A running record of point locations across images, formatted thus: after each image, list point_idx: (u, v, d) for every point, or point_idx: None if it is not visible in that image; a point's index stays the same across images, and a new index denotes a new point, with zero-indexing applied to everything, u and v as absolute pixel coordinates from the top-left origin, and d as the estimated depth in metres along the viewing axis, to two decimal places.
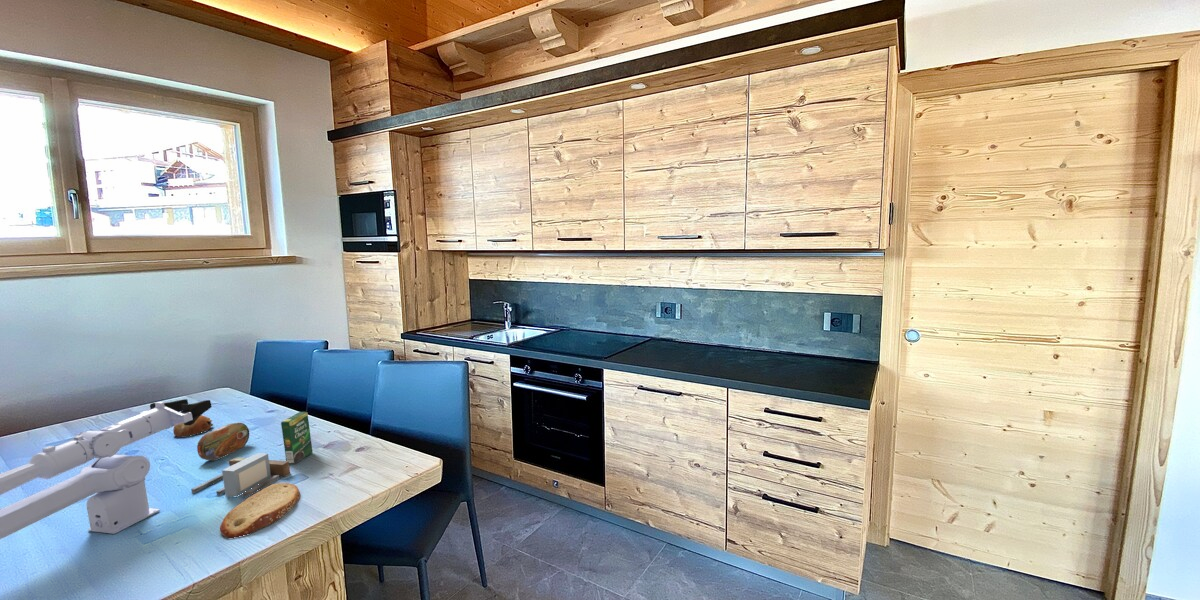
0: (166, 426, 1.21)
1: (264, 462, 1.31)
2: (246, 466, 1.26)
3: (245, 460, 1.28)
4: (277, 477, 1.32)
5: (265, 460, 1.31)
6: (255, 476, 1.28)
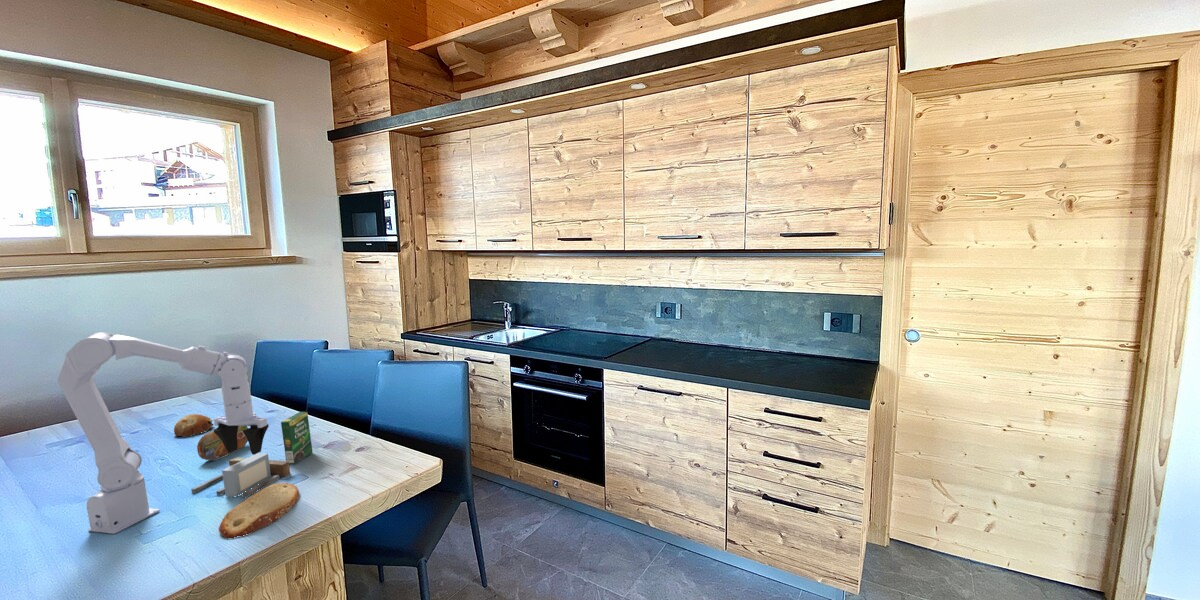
0: (240, 418, 1.24)
1: (264, 462, 1.31)
2: (246, 466, 1.26)
3: (245, 460, 1.28)
4: (277, 477, 1.32)
5: (265, 460, 1.31)
6: (255, 476, 1.28)
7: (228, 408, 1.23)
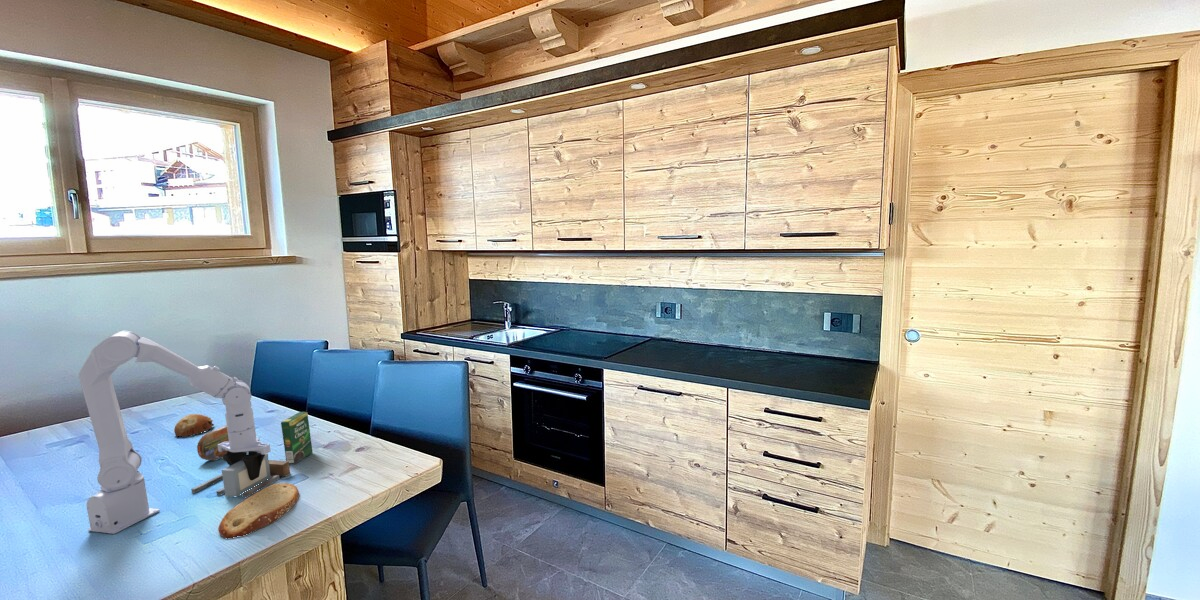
0: (243, 444, 1.25)
1: (264, 462, 1.31)
2: None
3: None
4: (277, 477, 1.32)
5: (264, 459, 1.31)
6: None
7: (232, 435, 1.24)
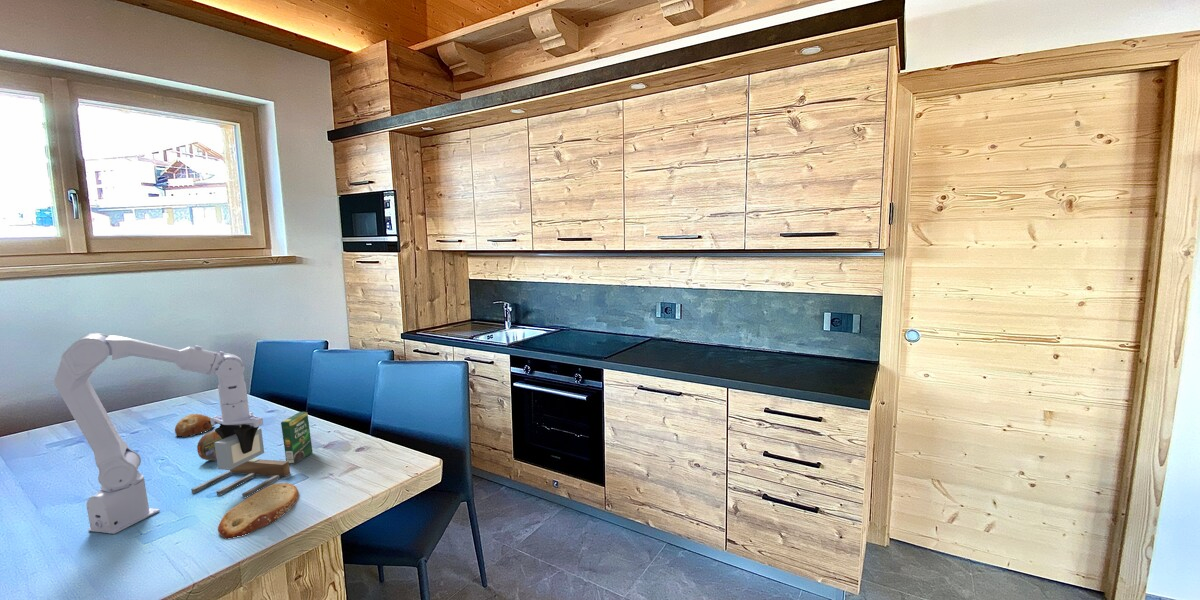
0: (236, 417, 1.24)
1: (258, 436, 1.30)
2: None
3: None
4: (277, 477, 1.32)
5: (258, 434, 1.30)
6: None
7: (224, 407, 1.23)
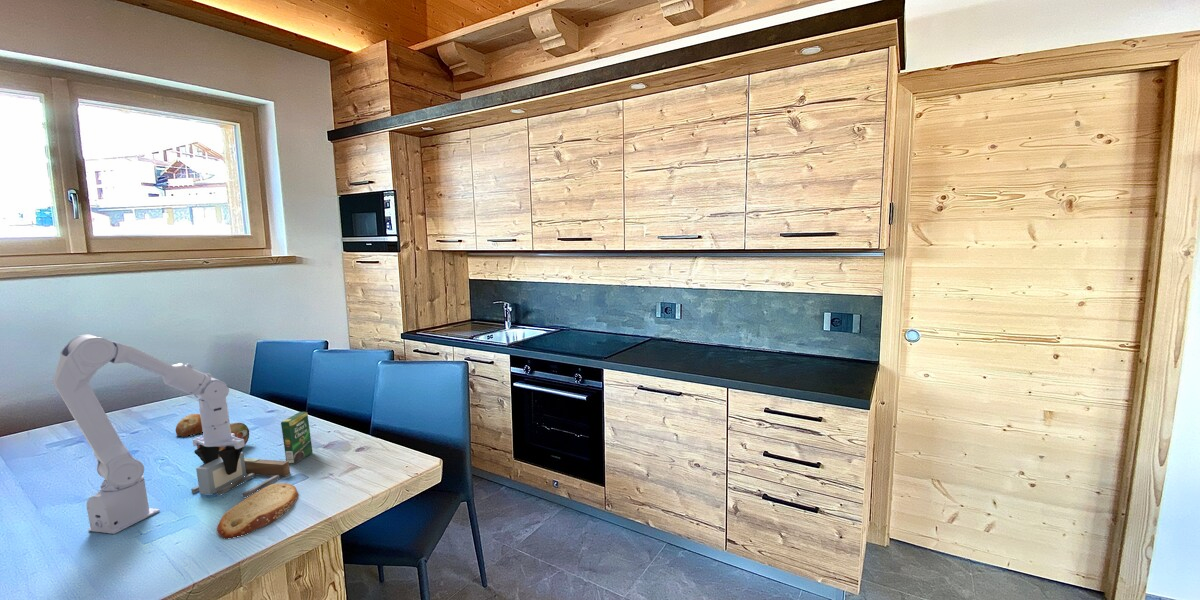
0: (217, 439, 1.26)
1: (240, 460, 1.33)
2: (220, 464, 1.27)
3: (220, 458, 1.30)
4: (277, 477, 1.32)
5: (240, 458, 1.33)
6: (230, 474, 1.30)
7: (206, 430, 1.25)
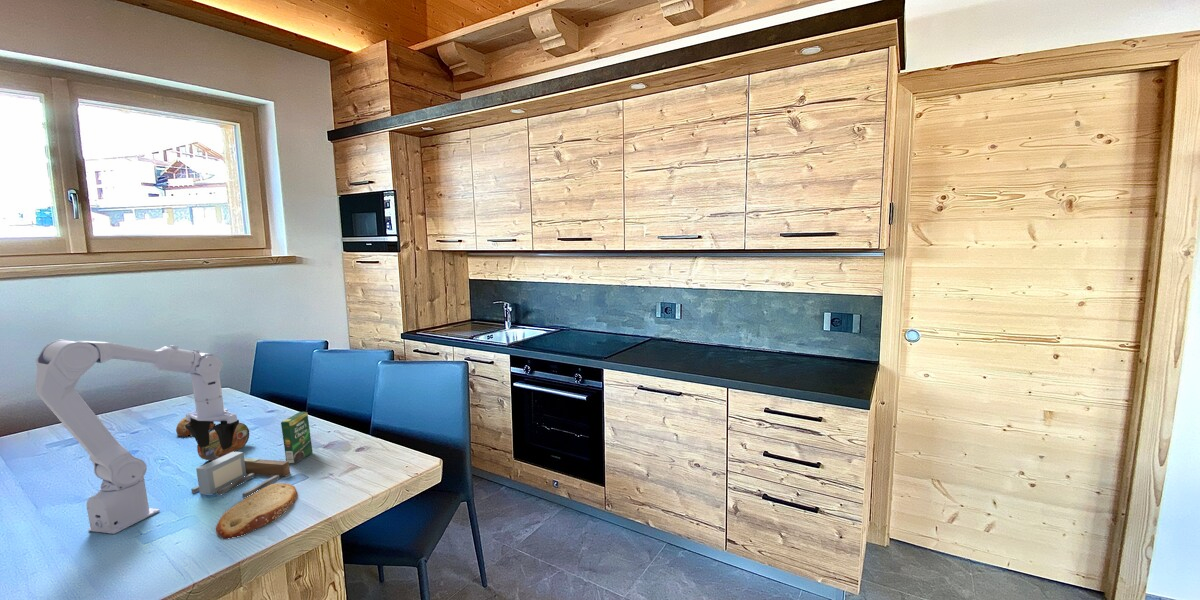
0: (210, 413, 1.27)
1: (240, 460, 1.32)
2: (220, 464, 1.27)
3: (220, 458, 1.30)
4: (277, 477, 1.32)
5: (240, 458, 1.33)
6: (230, 474, 1.30)
7: (198, 404, 1.26)
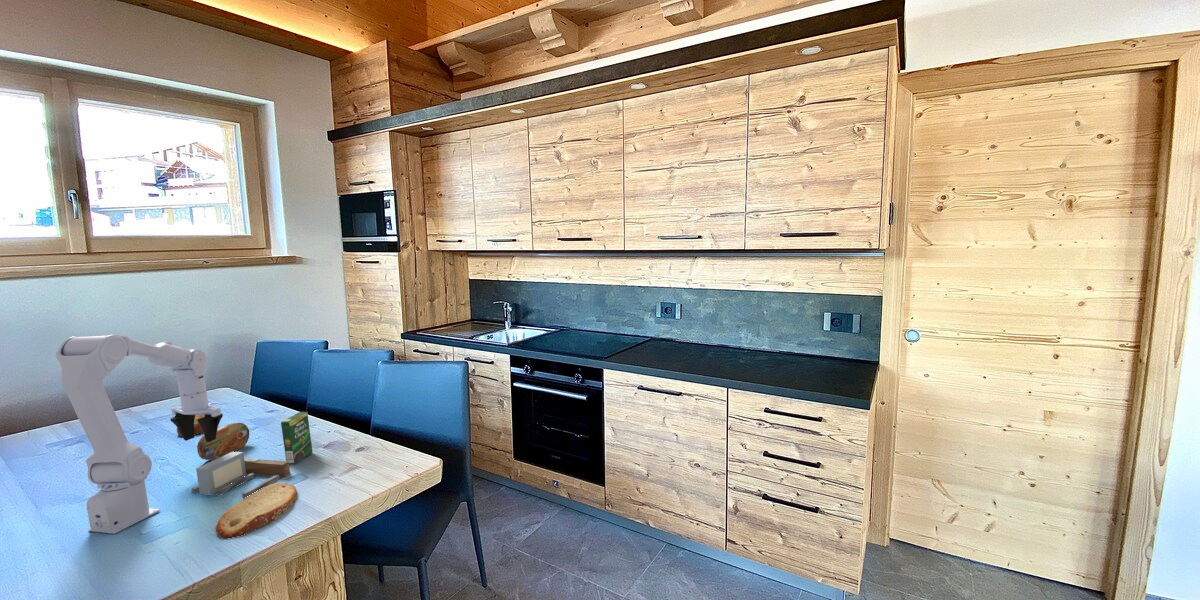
0: (194, 407, 1.32)
1: (240, 460, 1.33)
2: (220, 464, 1.27)
3: (220, 458, 1.30)
4: (277, 477, 1.32)
5: (240, 458, 1.33)
6: (230, 474, 1.30)
7: (183, 398, 1.31)
